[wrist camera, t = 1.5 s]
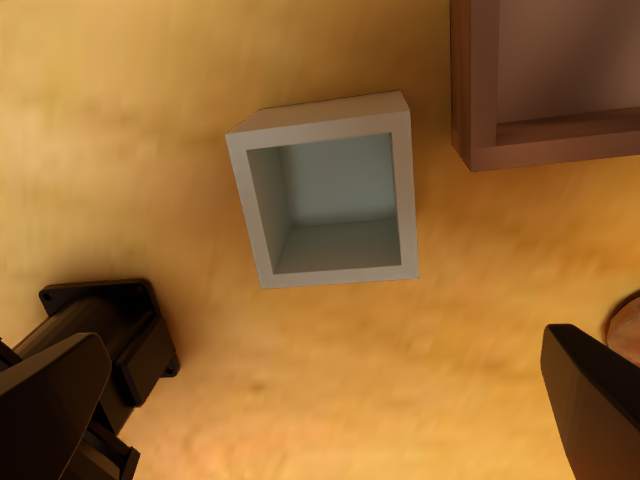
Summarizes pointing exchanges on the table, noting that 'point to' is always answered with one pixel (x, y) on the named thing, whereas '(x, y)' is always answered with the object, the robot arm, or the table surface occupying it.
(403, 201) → the small crate
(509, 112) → the big crate
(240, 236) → the table surface
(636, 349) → the pastry
